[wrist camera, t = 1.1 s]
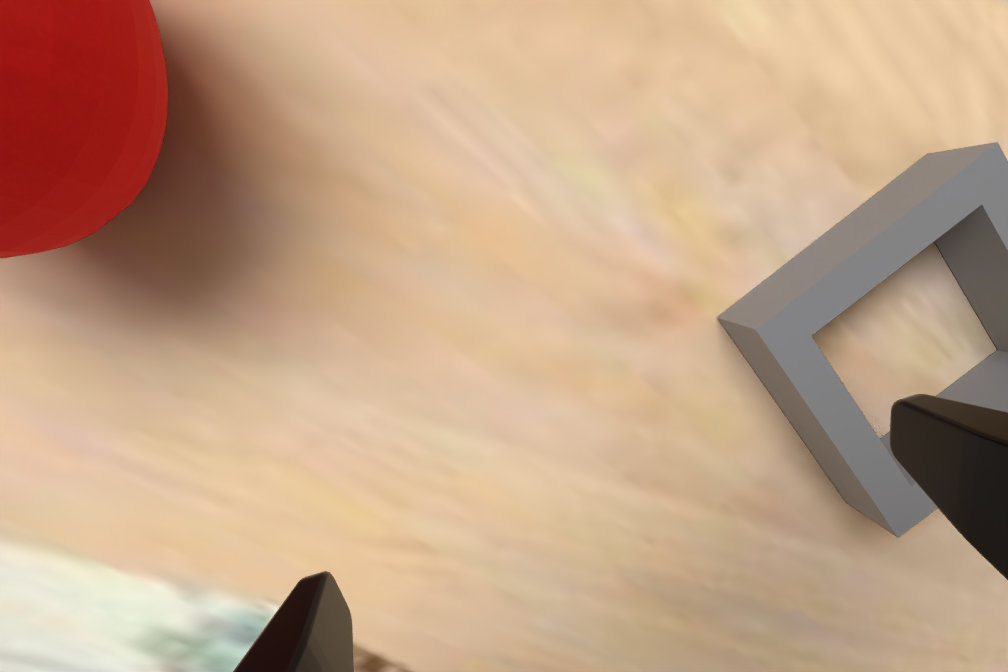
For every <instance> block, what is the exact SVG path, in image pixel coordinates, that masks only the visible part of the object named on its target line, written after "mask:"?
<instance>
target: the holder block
mask: <svg viewBox="0 0 1008 672" xmlns="http://www.w3.org/2000/svg"><path fill="white" fill-rule="evenodd" d="M933 242H935V243H936V245H937V247H938V249H939V250H940V252H941V254H942V255H943V257H944V259H945V261H946V262H947V264H948V266H949V267H950V269H951V271H952V273H953V274H954V276H955V278H956V279H957V281H958V283H959V285H960V286H961V288H962V290H963V291H964V293H965V295H966V297H967V298H968V300H969V302H970V303H971V305H972V307H973V309H974V310H975V312H976V314H977V315H978V317H979V319H980V321H981V322H982V324H983V326H984V327H985V329H986V331H987V333H988V334H989V336H990V338H991V339H992V341H993V343H994V345H995V346H996V348H997V351H995V352H994V353H993V354H991V355H990V356H989V357H987V358H986V359H985V360H983V361H982V362H981V363H979V364H978V365H977V366H976V367H974V368H973V369H972V370H970V371H969V372H968V373H966V374H965V375H964V376H962V377H961V378H960V379H958V380H957V381H956V382H955V383H953V384H952V385H951V386H949V387H948V388H947V389H945V390H944V391H943V392H941V393H940V394H939V395H937V396H936V397H940V398H944V399H949V400H953V401H958V402H963V403H967V404H972V405H977V406H981V407H986V408H990V409H995V410H1000V411H1004V412H1008V161H1007V159H1006V157H1005V155H1004V153H1003V151H1002V150H1001V148H1000V146H999V144H998V142H996V143H990V144H984V145H978V146H971V147H965V148H959V149H953V150H947V151H941V152H935V153H929V154H926V155H925V156H924V157H923V158H921V159H920V160H919V161H917V162H916V163H915V164H914V165H912V166H911V167H910V168H908V169H907V170H906V171H905V172H903V173H902V174H901V175H899V176H898V177H897V178H896V179H894V180H893V181H892V182H890V183H889V184H888V185H887V186H885V187H884V188H883V189H881V190H880V191H879V192H878V193H876V194H875V195H874V196H872V197H871V198H870V199H869V200H867V201H866V202H865V203H863V204H862V205H861V206H860V207H858V208H857V209H856V210H854V211H853V212H852V213H851V214H849V215H848V216H847V217H845V218H844V219H843V220H842V221H840V222H839V223H838V224H836V225H835V226H834V227H833V228H831V229H830V230H829V231H827V232H826V233H825V234H824V235H822V236H821V237H820V238H818V239H817V240H816V241H815V242H813V243H812V244H811V245H809V246H808V247H807V248H806V249H804V250H803V251H802V252H800V253H799V254H798V255H797V256H795V257H794V258H793V259H791V260H790V261H789V262H788V263H786V264H785V265H784V266H782V267H781V268H780V269H779V270H777V271H776V272H775V273H773V274H772V275H771V276H770V277H768V278H767V279H766V280H764V281H763V282H762V283H761V284H759V285H758V286H757V287H755V288H754V289H753V290H752V291H750V292H749V293H748V294H746V295H745V296H744V297H743V298H741V299H740V300H739V301H737V302H736V303H735V304H734V305H732V306H731V307H730V308H728V309H727V310H726V311H725V312H723V313H722V314H721V315H719V316H718V317H717V318H718V320H719V321H720V323H721V324H722V326H723V327H724V329H725V330H726V331H727V333H728V334H729V336H730V337H731V339H732V340H733V341H734V343H735V344H736V346H737V347H738V349H739V350H740V351H741V353H742V354H743V356H744V357H745V359H746V360H747V361H748V363H749V364H750V366H751V367H752V369H753V370H754V371H755V373H756V374H757V376H758V377H759V379H760V380H761V382H762V383H763V384H764V386H765V387H766V389H767V390H768V392H769V393H770V394H771V396H772V397H773V399H774V400H775V402H776V403H777V404H778V406H779V407H780V409H781V410H782V412H783V413H784V414H785V416H786V417H787V419H788V420H789V422H790V423H791V424H792V426H793V427H794V429H795V430H796V432H797V433H798V435H799V436H800V437H801V439H802V440H803V442H804V443H805V445H806V446H807V447H808V449H809V450H810V452H811V453H812V455H813V456H814V457H815V459H816V460H817V462H818V463H819V465H820V466H821V467H822V469H823V470H824V472H825V473H826V475H827V476H828V477H829V479H830V480H831V482H832V483H833V485H834V486H835V488H836V489H837V490H838V492H839V493H840V495H841V496H842V498H843V499H844V500H845V502H846V503H847V504H849V505H850V506H852V507H853V508H855V509H856V510H858V511H859V512H861V513H862V514H864V515H865V516H867V517H868V518H870V519H871V520H873V521H874V522H875V523H877V524H878V525H880V526H881V527H883V528H884V529H886V530H887V531H889V532H890V533H892V534H893V535H895V536H896V537H898V538H899V537H900V536H901V535H903V534H904V533H905V532H907V531H908V530H909V529H911V528H912V527H913V526H915V525H916V524H917V523H919V522H920V521H921V520H923V519H924V518H925V517H927V516H928V515H929V514H930V513H932V512H933V511H934V510H936V509H937V508H938V507H937V506H936V505H935V504H934V503H933V501H932V500H931V499H930V498H929V497H928V496H927V495H926V493H925V492H924V491H923V490H922V489H921V488H920V486H919V485H918V484H917V483H916V482H915V481H914V480H913V478H912V477H911V476H910V475H909V474H908V473H907V471H906V470H905V469H904V468H903V467H902V466H901V465H900V463H899V462H898V461H897V460H896V458H895V457H894V455H893V453H892V451H891V448H890V432H889V433H888V434H886V435H885V436H884V437H882V438H881V439H879V437H878V436H877V434H876V433H875V431H874V430H873V428H872V427H871V425H870V424H869V422H868V421H867V419H866V418H865V416H864V415H863V413H862V412H861V410H860V409H859V407H858V406H857V404H856V403H855V401H854V399H853V398H852V396H851V395H850V393H849V392H848V390H847V389H846V387H845V386H844V384H843V383H842V381H841V380H840V378H839V377H838V375H837V374H836V372H835V371H834V369H833V368H832V366H831V365H830V363H829V362H828V360H827V359H826V357H825V356H824V354H823V353H822V351H821V350H820V348H819V347H818V345H817V344H816V342H815V341H814V339H813V338H812V335H813V334H815V333H816V332H817V331H818V330H820V329H821V328H822V327H824V326H825V325H826V324H828V323H829V322H830V321H831V320H833V319H834V318H835V317H837V316H838V315H839V314H840V313H842V312H843V311H844V310H846V309H847V308H848V307H850V306H851V305H852V304H853V303H855V302H856V301H857V300H859V299H860V298H861V297H863V296H864V295H865V294H866V293H868V292H869V291H870V290H872V289H873V288H874V287H875V286H877V285H878V284H879V283H881V282H882V281H883V280H885V279H886V278H887V277H888V276H890V275H891V274H892V273H894V272H895V271H896V270H898V269H899V268H900V267H901V266H903V265H904V264H905V263H907V262H908V261H909V260H910V259H912V258H913V257H914V256H916V255H917V254H918V253H920V252H921V251H922V250H923V249H925V248H926V247H927V246H929V245H930V244H931V243H933Z"/></svg>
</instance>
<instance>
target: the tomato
mask: <svg viewBox="0 0 1008 672" xmlns="http://www.w3.org/2000/svg"><path fill="white" fill-rule="evenodd" d="M167 108H168V84H167V73H166V62H165V57H164V52H163V48H162V43H161V38H160V34H159V29H158V26H157V22H156V19H155V15H154V12H153V9H152V6H151V4H150V1H149V0H0V258H8V257H14V256H20V255H26V254H33V253H39V252H44V251H48V250H52V249H56V248H60V247H64V246H68V245H70V244H72V243H74V242H76V241H78V240H80V239H82V238H84V237H86V236H89V235H91V234H93V233H95V232H97V231H98V230H99V229H100V228H102V227H103V226H104V225H105V224H106V223H108V222H109V221H110V220H111V219H113V218H114V217H115V216H116V215H118V214H119V213H120V212H121V211H123V210H124V209H125V208H127V207H128V206H129V205H131V204H132V203H133V201H134V200H135V198H136V197H137V196H138V194H139V193H140V192H141V190H142V189H143V188H144V186H145V185H146V183H147V182H148V180H149V178H150V175H151V173H152V171H153V168H154V166H155V163H156V161H157V159H158V156H159V153H160V149H161V145H162V141H163V137H164V133H165V129H166V123H167Z"/></svg>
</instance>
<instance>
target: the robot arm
mask: <svg viewBox="0 0 1008 672" xmlns="http://www.w3.org/2000/svg"><path fill="white" fill-rule="evenodd" d="M890 448H891V451H892V453H893V455H894V457H895V458H896V460H897V461H898V462H899V463H900V465H901V466H902V467H903V468H904V469H905V470H906V471H907V473H908V474H909V475H910V476H911V477H912V478H913V480H914V481H915V482H916V483H917V484H918V485H919V486H920V488H921V489H922V490H923V491H924V492H925V493H926V495H927V496H928V497H929V498H930V499H931V500H932V501H933V503H934V504H935V505H936V506H937V507H938V508H939V510H940V511H941V512H942V513H943V514H944V515H945V516H946V518H947V519H948V520H949V521H950V522H951V523H952V525H953V526H954V527H955V528H956V529H957V530H958V531H959V532H960V533H961V534H962V536H963V537H964V538H965V539H966V540H967V541H968V542H969V543H970V544H971V545H972V546H973V547H974V548H975V549H976V550H977V551H978V552H979V553H980V554H981V555H982V556H983V557H984V558H985V559H986V560H987V561H988V562H989V563H991V564H992V565H993V566H994V567H995V568H996V569H997V570H998V571H999V572H1000V573H1001V574H1002V575H1003V576H1004V577H1005V578H1006V579H1007V580H1008V412H1004V411H1000V410H995V409H990V408H986V407H981V406H977V405H972V404H967V403H963V402H958V401H953V400H949V399H944V398H940V397H935V396H930V395H925V394H917V395H913V396H910V397H907V398H903V399H900V400H897V401H896V402H894V404H893V406H892V408H891V422H890ZM233 672H354V662H353V633H352V619H351V614H350V610H349V608H348V605H347V603H346V601H345V599H344V597H343V595H342V593H341V591H340V589H339V587H338V585H337V583H336V581H335V579H334V577H333V576H332V574H331V573H330V572H326V571H324V572H321V573H317V574H314V575H311V576H307V577H305V578H302V579H301V580H300V581H299V582H298V583H297V585H296V586H295V587H294V589H293V590H292V591H291V593H290V594H289V596H288V597H287V598H286V600H285V601H284V602H283V604H282V605H281V607H280V608H279V609H278V611H277V612H276V613H275V615H274V616H273V618H272V619H271V620H270V622H269V623H268V624H267V626H266V627H265V629H264V630H263V631H262V633H261V634H260V635H259V637H258V638H257V640H256V641H255V642H254V644H253V645H252V646H251V648H250V649H249V651H248V652H247V653H246V655H245V656H244V657H243V659H242V660H241V662H240V663H239V664H238V666H237V667H236V668H235V670H234V671H233Z"/></svg>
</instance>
